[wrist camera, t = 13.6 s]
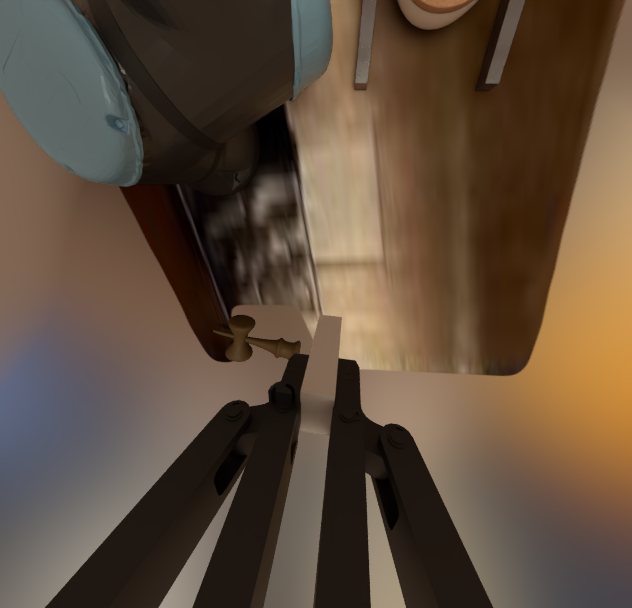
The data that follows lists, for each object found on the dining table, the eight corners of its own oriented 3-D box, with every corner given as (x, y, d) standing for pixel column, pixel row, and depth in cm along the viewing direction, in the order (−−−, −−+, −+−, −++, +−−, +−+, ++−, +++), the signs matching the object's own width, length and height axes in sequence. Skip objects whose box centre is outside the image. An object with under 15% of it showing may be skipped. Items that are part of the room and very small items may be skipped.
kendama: (297, 360, 56) (219, 339, 56) (305, 328, 52) (220, 306, 52) (292, 377, 51) (206, 355, 51) (301, 344, 47) (206, 319, 46)
